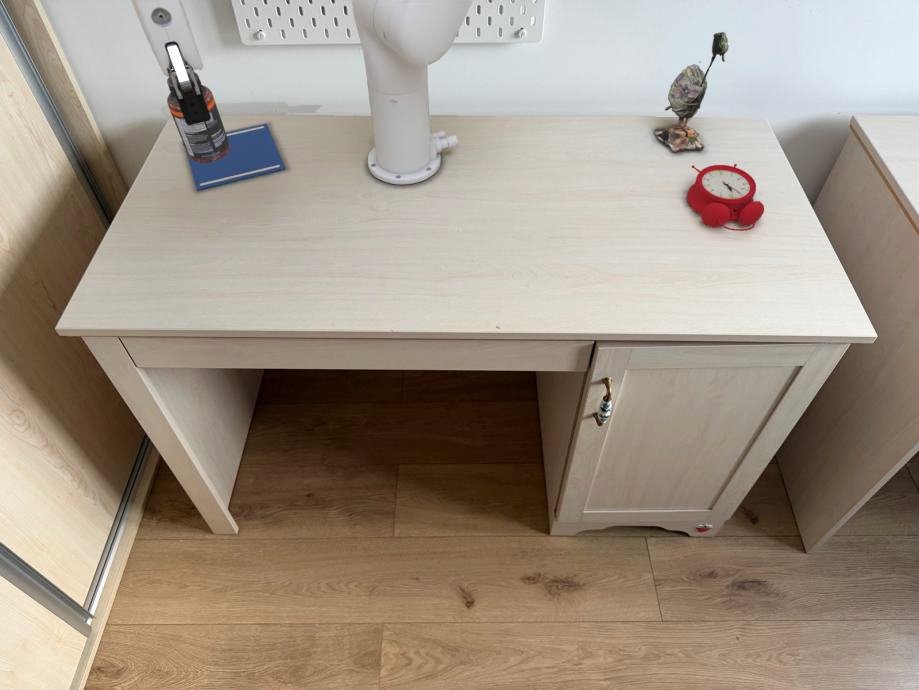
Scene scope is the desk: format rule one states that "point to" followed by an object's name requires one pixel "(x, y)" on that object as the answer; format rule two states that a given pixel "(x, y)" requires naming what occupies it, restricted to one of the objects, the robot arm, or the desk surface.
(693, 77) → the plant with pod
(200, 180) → the napkin
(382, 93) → the robot arm
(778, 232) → the desk surface
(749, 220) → the alarm clock
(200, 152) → the supplement bottle
